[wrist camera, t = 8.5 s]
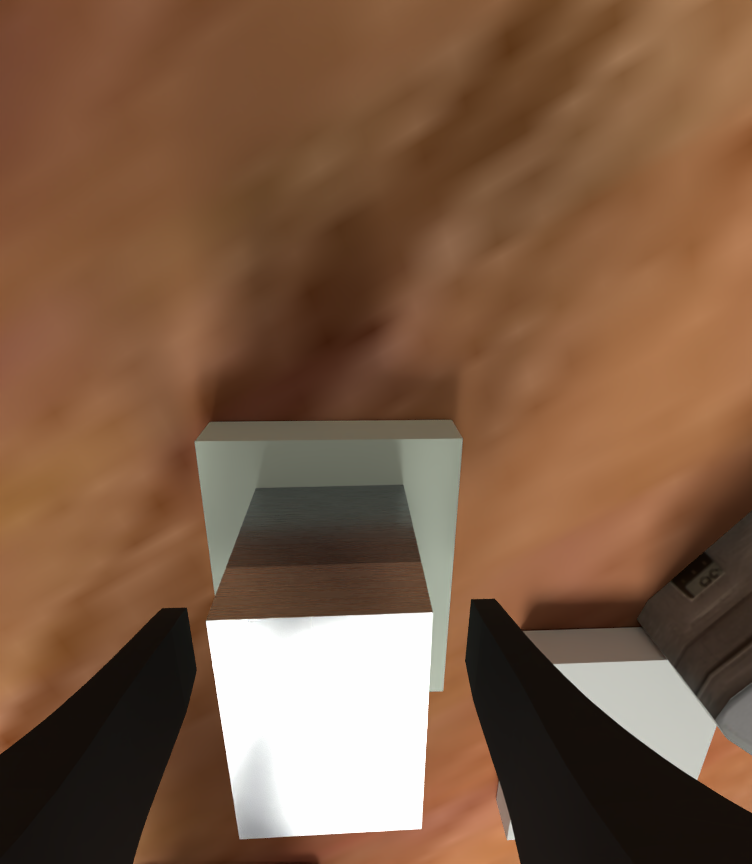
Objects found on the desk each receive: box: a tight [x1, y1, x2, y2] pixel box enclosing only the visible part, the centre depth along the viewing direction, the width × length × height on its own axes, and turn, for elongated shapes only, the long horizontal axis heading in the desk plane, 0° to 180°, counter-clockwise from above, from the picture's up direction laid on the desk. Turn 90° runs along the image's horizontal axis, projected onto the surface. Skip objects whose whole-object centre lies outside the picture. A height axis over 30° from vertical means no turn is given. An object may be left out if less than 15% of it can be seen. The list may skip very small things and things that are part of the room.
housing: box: [206, 485, 433, 839], centre depth 12 cm, size 6×4×5 cm, turn 0°
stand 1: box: [195, 420, 463, 692], centre depth 15 cm, size 9×7×2 cm
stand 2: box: [496, 627, 717, 840], centre depth 19 cm, size 9×7×2 cm
